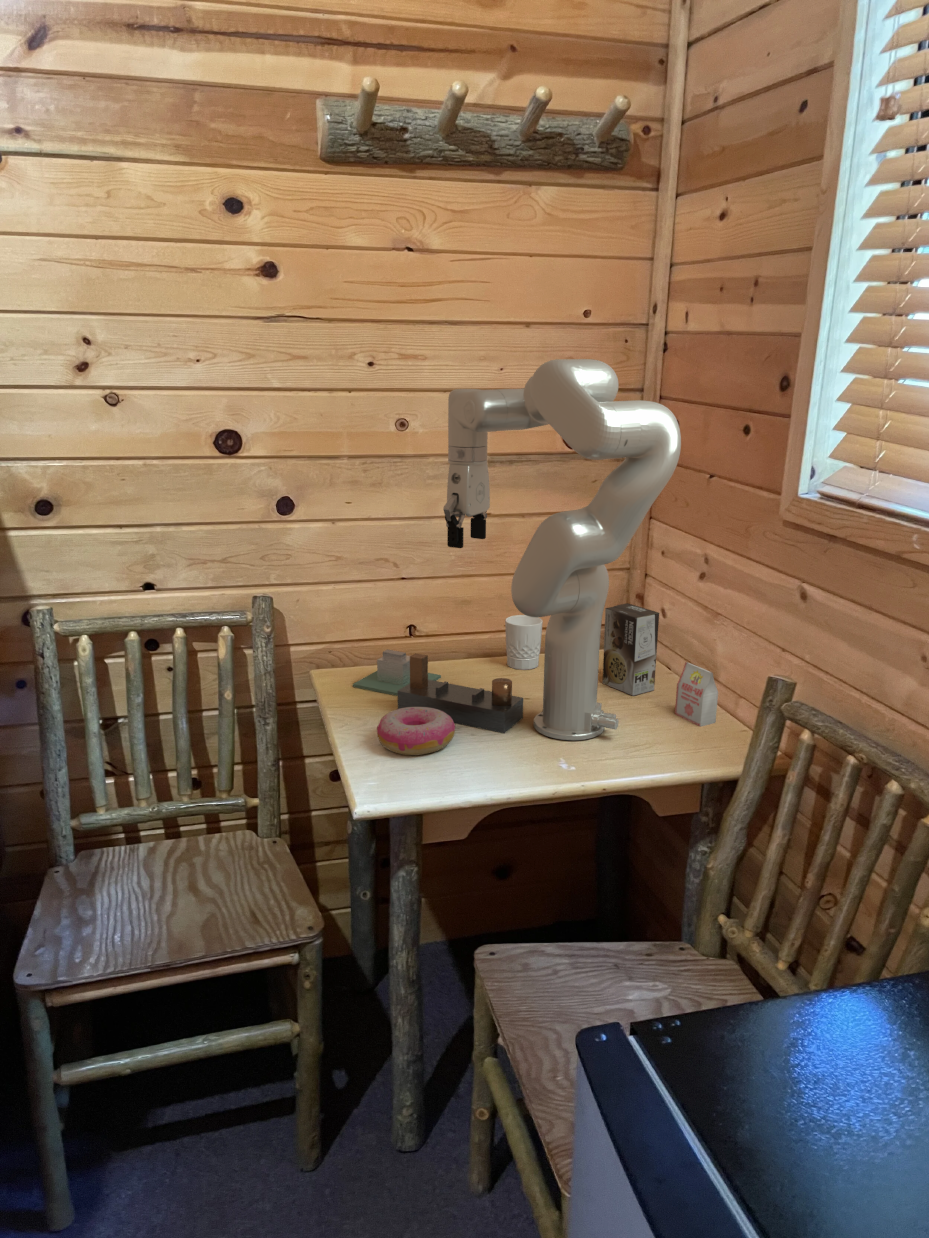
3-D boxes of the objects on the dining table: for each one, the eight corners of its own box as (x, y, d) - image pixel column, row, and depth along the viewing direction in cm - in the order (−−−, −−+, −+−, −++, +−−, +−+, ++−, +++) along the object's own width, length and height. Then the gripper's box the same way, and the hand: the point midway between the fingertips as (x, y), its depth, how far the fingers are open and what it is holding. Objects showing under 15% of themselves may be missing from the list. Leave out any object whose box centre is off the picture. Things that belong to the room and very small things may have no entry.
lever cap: (377, 680, 186) (377, 653, 185) (390, 673, 190) (390, 646, 189) (402, 685, 184) (402, 658, 182) (415, 678, 188) (415, 651, 186)
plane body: (397, 710, 173) (397, 660, 170) (419, 697, 179) (418, 648, 177) (504, 733, 163) (505, 680, 160) (522, 717, 170) (524, 666, 167)
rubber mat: (441, 677, 190) (441, 675, 190) (408, 698, 179) (408, 695, 179) (387, 667, 196) (387, 664, 195) (352, 686, 184) (352, 684, 184)
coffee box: (655, 690, 184) (661, 612, 179) (632, 696, 180) (637, 617, 176) (623, 677, 191) (628, 602, 186) (600, 683, 188) (604, 606, 183)
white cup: (529, 673, 193) (531, 627, 190) (497, 666, 197) (498, 621, 194) (547, 663, 199) (549, 618, 196) (516, 656, 203) (517, 612, 200)
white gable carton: (689, 710, 174) (693, 660, 171) (715, 722, 168) (720, 671, 165) (674, 714, 172) (678, 663, 169) (700, 726, 166) (704, 674, 164)
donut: (445, 725, 167) (445, 699, 165) (463, 755, 154) (464, 728, 153) (371, 731, 164) (370, 705, 162) (384, 763, 151) (383, 735, 150)
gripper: (464, 461, 168) (463, 553, 173) (504, 452, 183) (502, 537, 188) (428, 458, 171) (428, 549, 176) (470, 449, 186) (470, 533, 191)
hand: (467, 542), depth 182 cm, fingers open, 9 cm apart
